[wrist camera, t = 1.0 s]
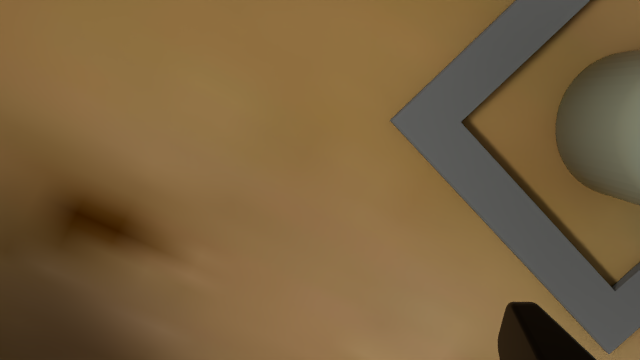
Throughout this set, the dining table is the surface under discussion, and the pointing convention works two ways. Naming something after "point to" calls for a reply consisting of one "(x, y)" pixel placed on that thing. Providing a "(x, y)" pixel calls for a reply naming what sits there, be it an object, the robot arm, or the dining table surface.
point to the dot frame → (494, 182)
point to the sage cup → (604, 126)
